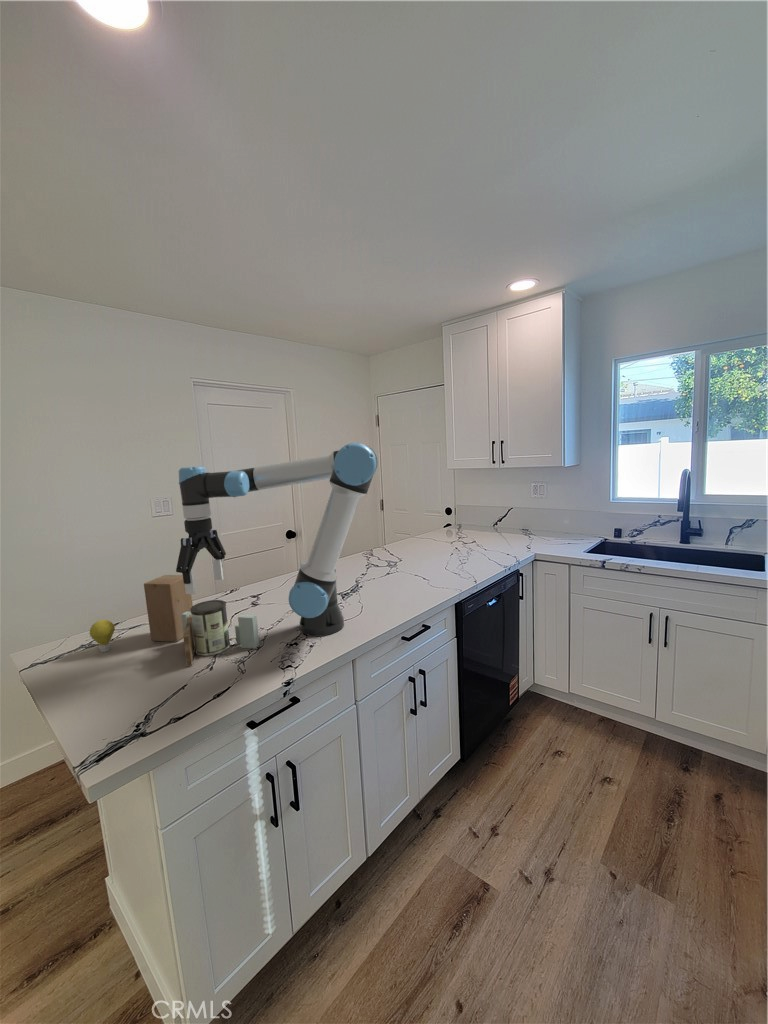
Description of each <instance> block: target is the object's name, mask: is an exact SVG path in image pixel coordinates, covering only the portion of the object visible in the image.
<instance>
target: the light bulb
mask: <svg viewBox="0 0 768 1024" xmlns="http://www.w3.org/2000/svg"><path fill="white" fill-rule="evenodd" d="M115 629H116V627H115V625H114V623H113V622H112V621H110V620H108V619H100V620H98V621H95V622H94V623H92V625H91V627H90V629H89V636H90V637H91V638H92V639H93V640H94V642H96V643H97V644H98V650H100V652H101V653H105V652H108V651H110V647H111V645H112V644H111V639H112V638H113V635H114V633H115Z"/></svg>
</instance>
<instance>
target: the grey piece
mask: <svg viewBox="0 0 768 1024" xmlns="http://www.w3.org/2000/svg"><path fill="white" fill-rule="evenodd" d="M181 615H182V623H183V632H185V628H186V624H187V621H188V617H189V615H191V612H185V613H183V614H181ZM237 620H238V621H237V622H238V625H234V630H235V631H234V632H235V640H236V641H235V642H236V644H237V645H240V648H242V649H243V648H244V649H257V648H258V647H259V646H260V638H259V628H258V616H257V614H248V613H247V614H245V613H244V614H240V615H239V616H238V617H237Z"/></svg>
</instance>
